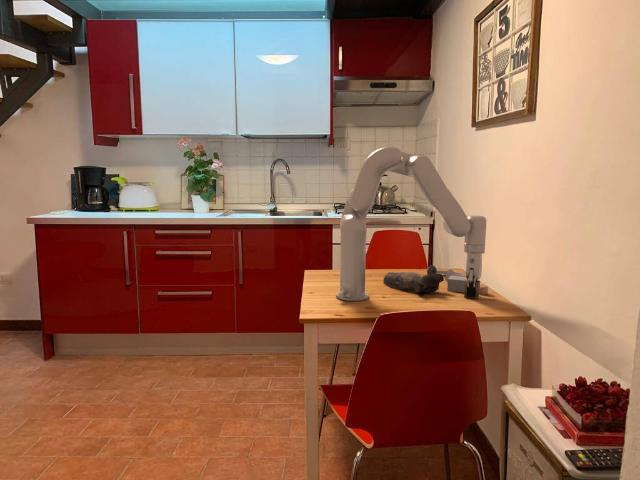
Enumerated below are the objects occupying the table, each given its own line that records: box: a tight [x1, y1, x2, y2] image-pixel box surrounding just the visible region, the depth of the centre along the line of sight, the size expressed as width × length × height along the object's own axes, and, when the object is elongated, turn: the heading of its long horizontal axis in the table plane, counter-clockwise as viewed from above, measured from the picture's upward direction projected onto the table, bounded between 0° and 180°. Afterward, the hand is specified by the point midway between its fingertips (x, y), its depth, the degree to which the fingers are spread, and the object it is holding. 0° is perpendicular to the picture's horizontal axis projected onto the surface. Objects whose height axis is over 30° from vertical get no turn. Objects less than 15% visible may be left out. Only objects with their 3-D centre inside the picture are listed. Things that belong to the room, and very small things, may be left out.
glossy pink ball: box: [479, 284, 489, 296], centre depth 187 cm, size 4×4×3 cm
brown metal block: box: [463, 279, 481, 300], centre depth 182 cm, size 5×5×6 cm
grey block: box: [446, 276, 467, 293], centre depth 194 cm, size 7×7×5 cm
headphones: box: [417, 265, 466, 283], centre depth 215 cm, size 17×6×20 cm
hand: (471, 294), depth 182 cm, fingers closed on brown metal block, 5 cm apart
